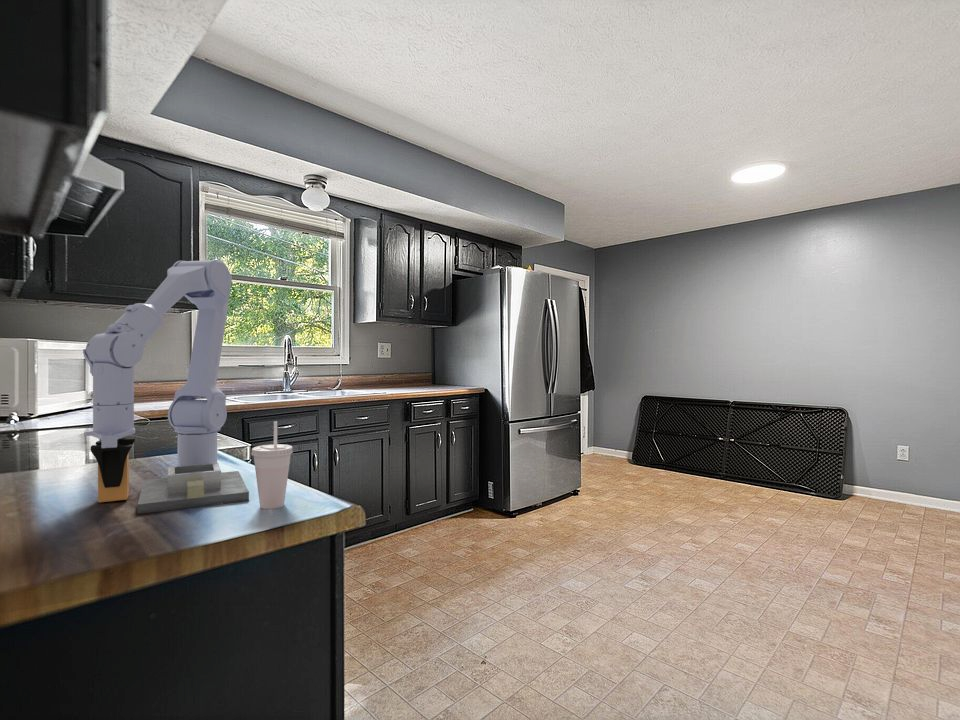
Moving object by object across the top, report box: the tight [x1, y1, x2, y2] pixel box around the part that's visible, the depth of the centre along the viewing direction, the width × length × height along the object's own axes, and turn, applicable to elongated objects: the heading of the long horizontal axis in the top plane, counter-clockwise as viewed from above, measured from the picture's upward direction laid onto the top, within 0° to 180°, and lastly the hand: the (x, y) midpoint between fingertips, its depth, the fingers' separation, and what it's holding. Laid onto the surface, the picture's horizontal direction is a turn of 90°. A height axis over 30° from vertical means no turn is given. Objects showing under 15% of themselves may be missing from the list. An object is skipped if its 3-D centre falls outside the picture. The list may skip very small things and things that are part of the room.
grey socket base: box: [136, 462, 250, 515], centre depth 94 cm, size 18×16×4 cm
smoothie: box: [251, 420, 294, 510], centre depth 87 cm, size 6×6×14 cm
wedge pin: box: [97, 452, 130, 503], centre depth 90 cm, size 4×4×8 cm
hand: (114, 483), depth 90 cm, fingers closed on wedge pin, 4 cm apart
